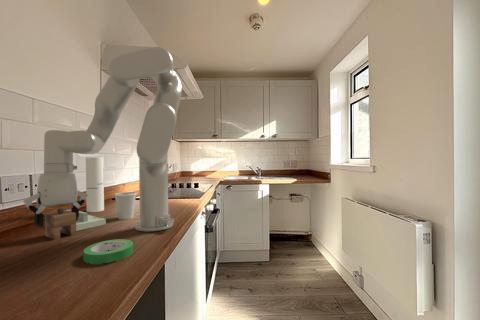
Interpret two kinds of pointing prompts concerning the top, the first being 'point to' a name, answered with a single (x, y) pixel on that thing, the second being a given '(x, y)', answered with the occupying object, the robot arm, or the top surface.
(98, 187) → the cylindrical container
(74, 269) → the top surface
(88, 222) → the cleat board
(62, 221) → the walnut block
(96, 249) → the tape roll
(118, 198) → the dixie cup
